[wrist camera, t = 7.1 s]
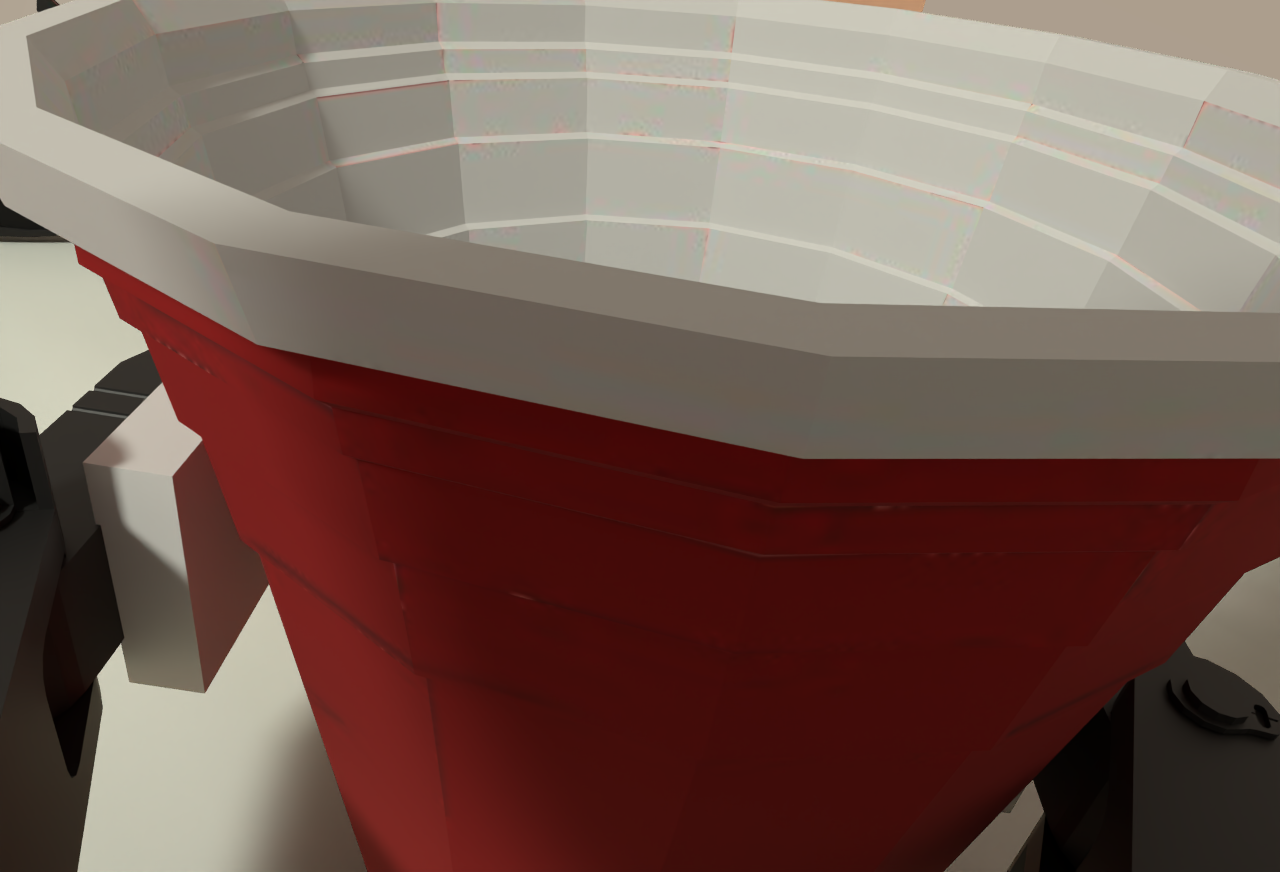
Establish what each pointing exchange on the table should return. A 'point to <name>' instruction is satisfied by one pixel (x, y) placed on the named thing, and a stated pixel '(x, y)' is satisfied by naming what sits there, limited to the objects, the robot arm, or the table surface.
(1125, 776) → the robot arm
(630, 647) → the plastic cup
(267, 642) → the table surface
